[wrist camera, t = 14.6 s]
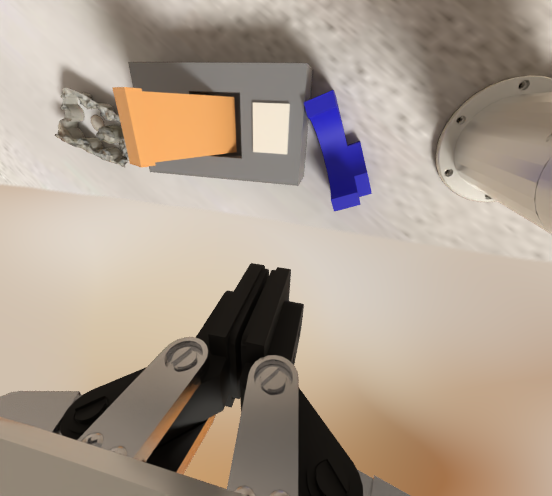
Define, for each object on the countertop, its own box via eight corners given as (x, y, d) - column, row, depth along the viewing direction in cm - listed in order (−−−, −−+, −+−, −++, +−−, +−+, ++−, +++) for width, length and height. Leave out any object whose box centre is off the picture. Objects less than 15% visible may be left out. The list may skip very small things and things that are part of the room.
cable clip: (369, 187, 34) (374, 201, 29) (335, 196, 36) (334, 211, 31) (348, 87, 30) (348, 83, 25) (310, 103, 31) (303, 102, 26)
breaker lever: (236, 95, 29) (124, 87, 21) (238, 154, 32) (141, 167, 24) (223, 94, 31) (112, 87, 23) (226, 151, 34) (130, 163, 26)
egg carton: (76, 133, 40) (50, 135, 37) (79, 82, 37) (51, 79, 33) (136, 168, 41) (117, 174, 37) (146, 122, 37) (124, 123, 33)
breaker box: (312, 69, 29) (306, 62, 25) (303, 176, 35) (297, 186, 31) (156, 68, 33) (126, 61, 29) (171, 164, 39) (148, 172, 34)
